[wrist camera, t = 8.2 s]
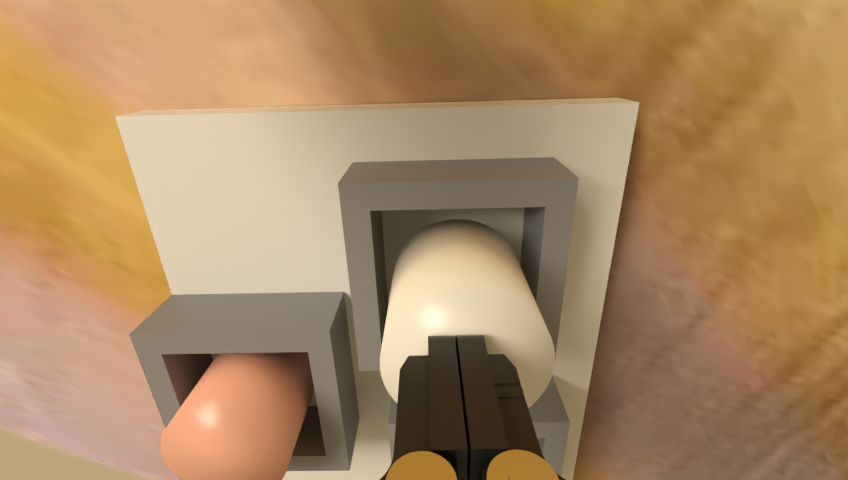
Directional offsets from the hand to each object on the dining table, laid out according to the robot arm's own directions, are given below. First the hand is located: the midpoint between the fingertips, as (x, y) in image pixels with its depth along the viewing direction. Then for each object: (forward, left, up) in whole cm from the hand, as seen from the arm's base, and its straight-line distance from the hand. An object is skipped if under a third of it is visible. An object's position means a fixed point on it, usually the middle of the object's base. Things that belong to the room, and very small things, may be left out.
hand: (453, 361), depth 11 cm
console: (+3, +5, -9) cm, 11 cm away
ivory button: (0, 0, -5) cm, 5 cm away
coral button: (+9, +6, -7) cm, 13 cm away
